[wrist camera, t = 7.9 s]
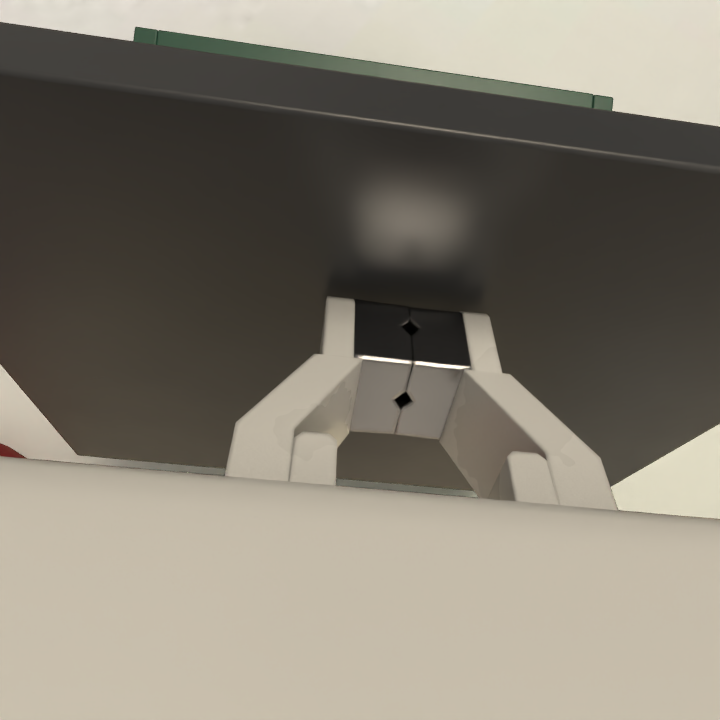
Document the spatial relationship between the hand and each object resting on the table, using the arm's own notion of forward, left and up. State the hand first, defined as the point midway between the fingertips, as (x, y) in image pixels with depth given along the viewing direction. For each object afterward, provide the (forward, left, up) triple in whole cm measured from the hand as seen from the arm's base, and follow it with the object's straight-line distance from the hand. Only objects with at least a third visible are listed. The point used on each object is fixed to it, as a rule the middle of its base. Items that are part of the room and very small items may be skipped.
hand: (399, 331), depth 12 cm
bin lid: (0, 0, -3) cm, 3 cm away
